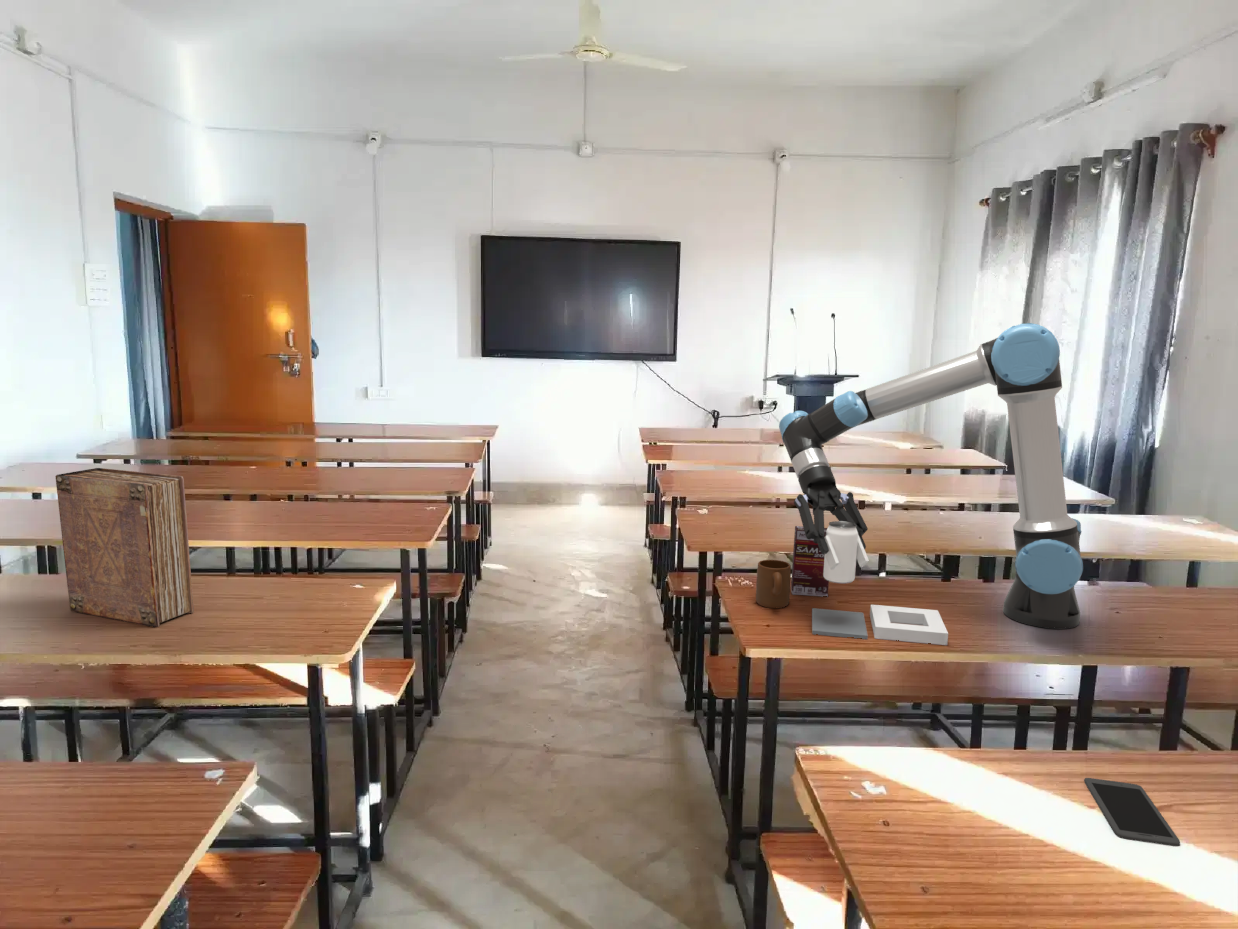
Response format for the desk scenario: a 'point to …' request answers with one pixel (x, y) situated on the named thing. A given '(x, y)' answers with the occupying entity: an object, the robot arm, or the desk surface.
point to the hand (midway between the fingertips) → (849, 565)
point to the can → (842, 552)
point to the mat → (838, 623)
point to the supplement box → (807, 566)
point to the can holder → (927, 633)
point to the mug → (773, 583)
